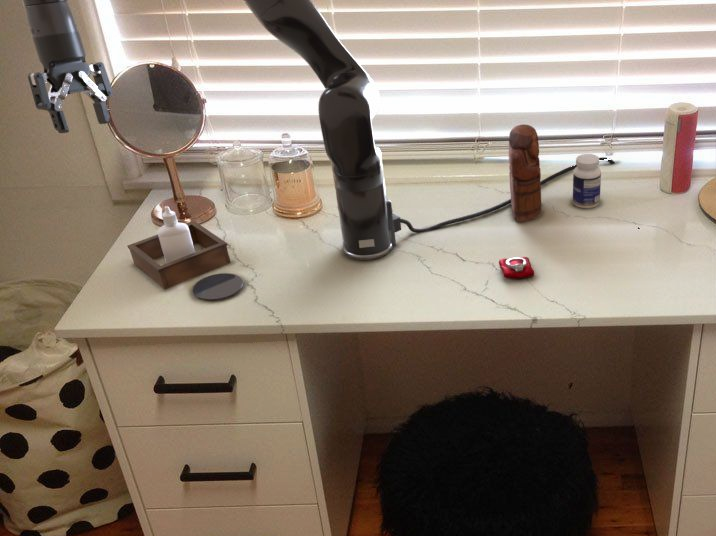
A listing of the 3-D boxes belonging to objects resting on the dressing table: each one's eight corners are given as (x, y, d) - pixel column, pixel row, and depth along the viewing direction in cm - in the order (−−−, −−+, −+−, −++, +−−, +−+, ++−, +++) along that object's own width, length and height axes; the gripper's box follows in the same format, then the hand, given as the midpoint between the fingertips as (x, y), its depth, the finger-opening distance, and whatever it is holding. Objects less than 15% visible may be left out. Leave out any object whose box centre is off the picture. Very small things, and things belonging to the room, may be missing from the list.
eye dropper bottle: (191, 270, 166) (176, 213, 159) (163, 269, 166) (146, 211, 159) (201, 259, 169) (186, 202, 162) (173, 257, 170) (157, 201, 163)
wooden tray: (199, 240, 175) (194, 220, 173) (231, 262, 168) (227, 242, 165) (133, 265, 168) (127, 245, 165) (164, 290, 160) (158, 269, 158)
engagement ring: (504, 282, 159) (504, 269, 158) (497, 266, 164) (497, 253, 162) (535, 278, 160) (535, 265, 159) (528, 262, 165) (528, 249, 163)
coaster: (228, 270, 166) (227, 268, 165) (252, 288, 160) (252, 285, 160) (184, 288, 161) (183, 286, 160) (208, 307, 155) (207, 304, 155)
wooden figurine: (543, 222, 178) (543, 137, 167) (511, 223, 178) (509, 138, 167) (538, 196, 187) (538, 114, 176) (508, 197, 187) (506, 115, 176)
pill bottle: (569, 198, 186) (570, 154, 180) (594, 195, 187) (596, 151, 181) (577, 210, 181) (578, 165, 175) (603, 207, 182) (605, 162, 176)
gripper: (31, 35, 144) (63, 135, 151) (103, 25, 155) (130, 119, 162) (4, 39, 148) (36, 136, 154) (76, 29, 159) (104, 121, 165)
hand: (84, 128), depth 158 cm, fingers open, 8 cm apart
